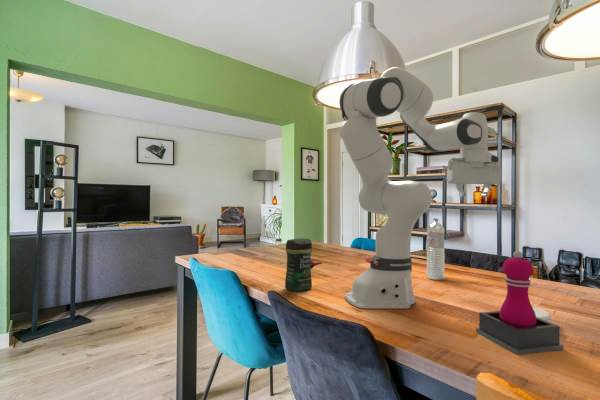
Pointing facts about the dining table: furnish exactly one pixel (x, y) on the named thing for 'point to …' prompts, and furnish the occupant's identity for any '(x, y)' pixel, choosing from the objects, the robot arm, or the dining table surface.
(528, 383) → the dining table surface
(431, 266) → the water bottle
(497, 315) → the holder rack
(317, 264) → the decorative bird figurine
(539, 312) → the coaster
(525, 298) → the pepper mill
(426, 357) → the dining table surface
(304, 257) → the coffee jar
